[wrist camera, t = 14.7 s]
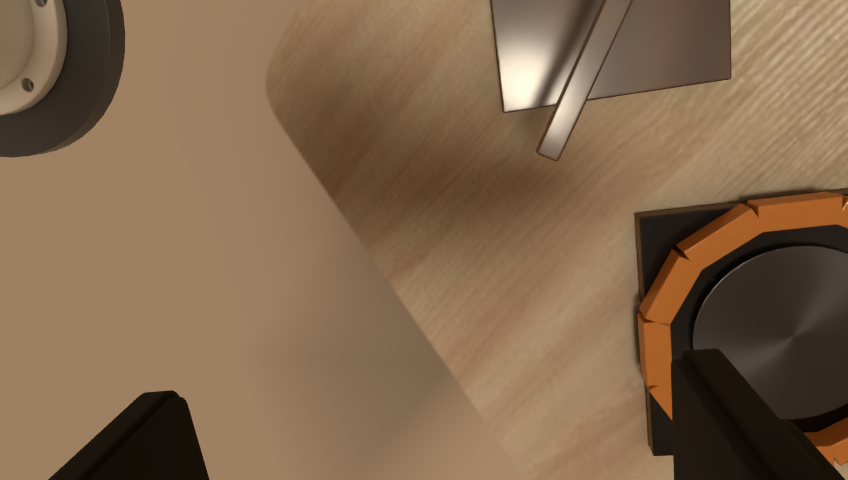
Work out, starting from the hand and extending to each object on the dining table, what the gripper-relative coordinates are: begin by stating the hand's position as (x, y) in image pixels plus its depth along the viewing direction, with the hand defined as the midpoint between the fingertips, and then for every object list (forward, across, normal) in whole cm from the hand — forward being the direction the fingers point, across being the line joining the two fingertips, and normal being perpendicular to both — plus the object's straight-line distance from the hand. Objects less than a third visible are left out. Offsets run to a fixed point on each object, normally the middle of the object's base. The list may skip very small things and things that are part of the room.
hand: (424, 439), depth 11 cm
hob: (+24, -18, +10) cm, 32 cm away
